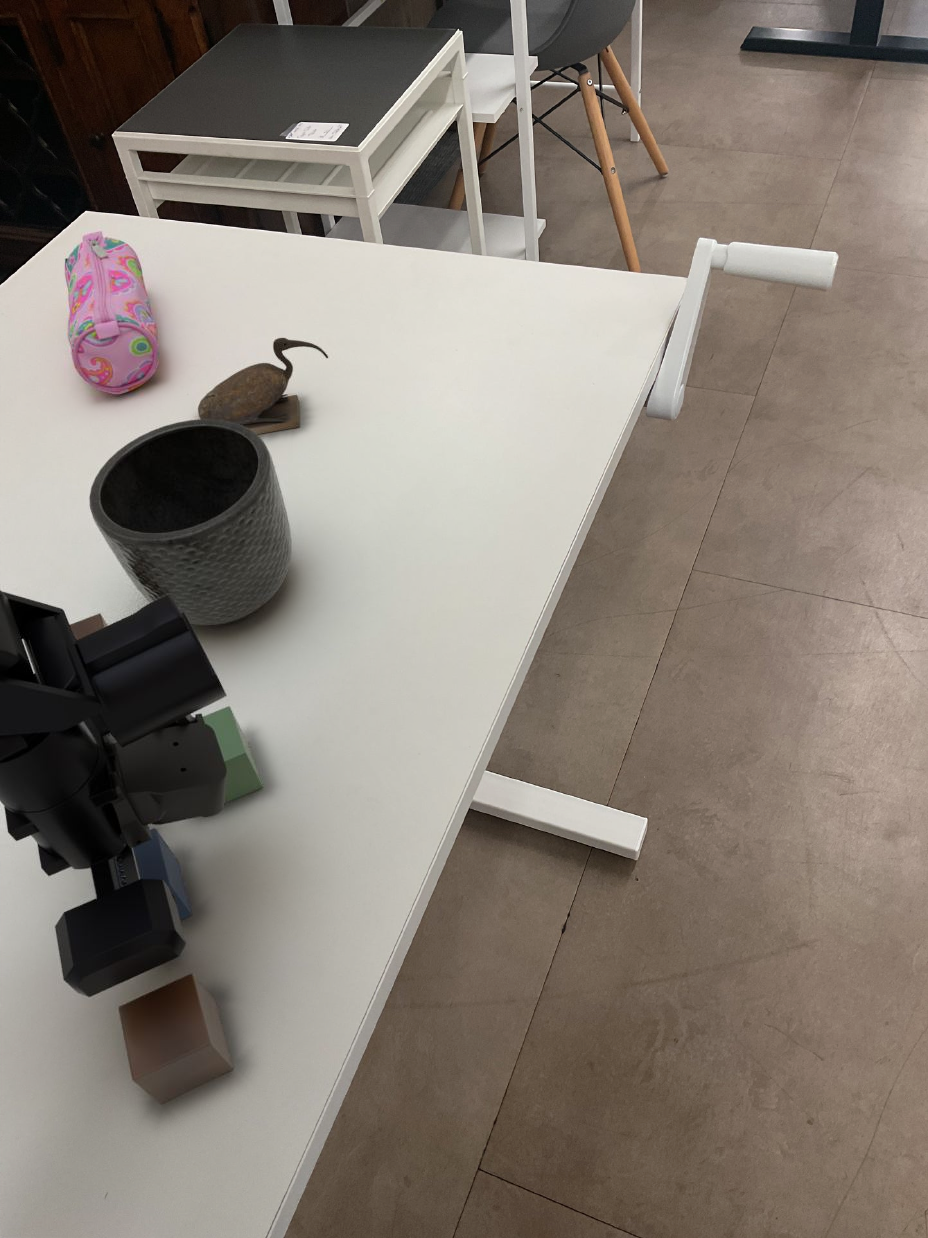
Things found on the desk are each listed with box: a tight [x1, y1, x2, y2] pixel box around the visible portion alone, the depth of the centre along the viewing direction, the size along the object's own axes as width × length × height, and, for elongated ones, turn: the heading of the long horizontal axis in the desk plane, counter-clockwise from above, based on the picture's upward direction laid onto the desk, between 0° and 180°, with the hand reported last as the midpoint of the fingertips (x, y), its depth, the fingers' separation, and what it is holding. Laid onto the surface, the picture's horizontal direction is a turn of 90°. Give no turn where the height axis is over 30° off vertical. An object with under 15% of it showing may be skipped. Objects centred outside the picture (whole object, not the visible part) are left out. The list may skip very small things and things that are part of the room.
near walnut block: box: [117, 973, 234, 1105], centre depth 59 cm, size 4×4×4 cm
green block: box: [203, 705, 264, 805], centre depth 71 cm, size 4×4×4 cm
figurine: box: [197, 337, 329, 435], centre depth 97 cm, size 14×4×9 cm, turn 97°
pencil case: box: [64, 231, 161, 395], centre depth 110 cm, size 21×9×9 cm, turn 17°
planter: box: [89, 418, 293, 626], centre depth 81 cm, size 14×14×13 cm
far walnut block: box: [69, 613, 108, 639], centre depth 79 cm, size 4×4×4 cm
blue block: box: [90, 827, 193, 921], centre depth 66 cm, size 4×4×4 cm
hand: (147, 894), depth 66 cm, fingers open, 9 cm apart
